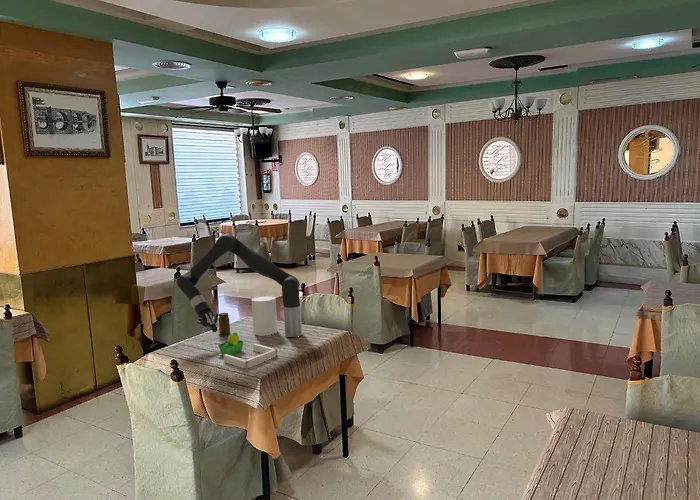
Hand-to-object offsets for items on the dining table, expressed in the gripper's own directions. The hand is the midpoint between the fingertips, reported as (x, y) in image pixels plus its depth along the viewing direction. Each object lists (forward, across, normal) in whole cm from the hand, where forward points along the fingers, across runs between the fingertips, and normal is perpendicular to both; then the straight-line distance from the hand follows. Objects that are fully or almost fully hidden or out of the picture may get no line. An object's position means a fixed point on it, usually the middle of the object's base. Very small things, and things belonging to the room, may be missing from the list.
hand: (215, 331), depth 264 cm
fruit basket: (+16, 0, -3) cm, 16 cm away
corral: (+27, 0, -14) cm, 30 cm away
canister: (+7, +33, +6) cm, 34 cm away
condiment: (-5, +17, +18) cm, 25 cm away
